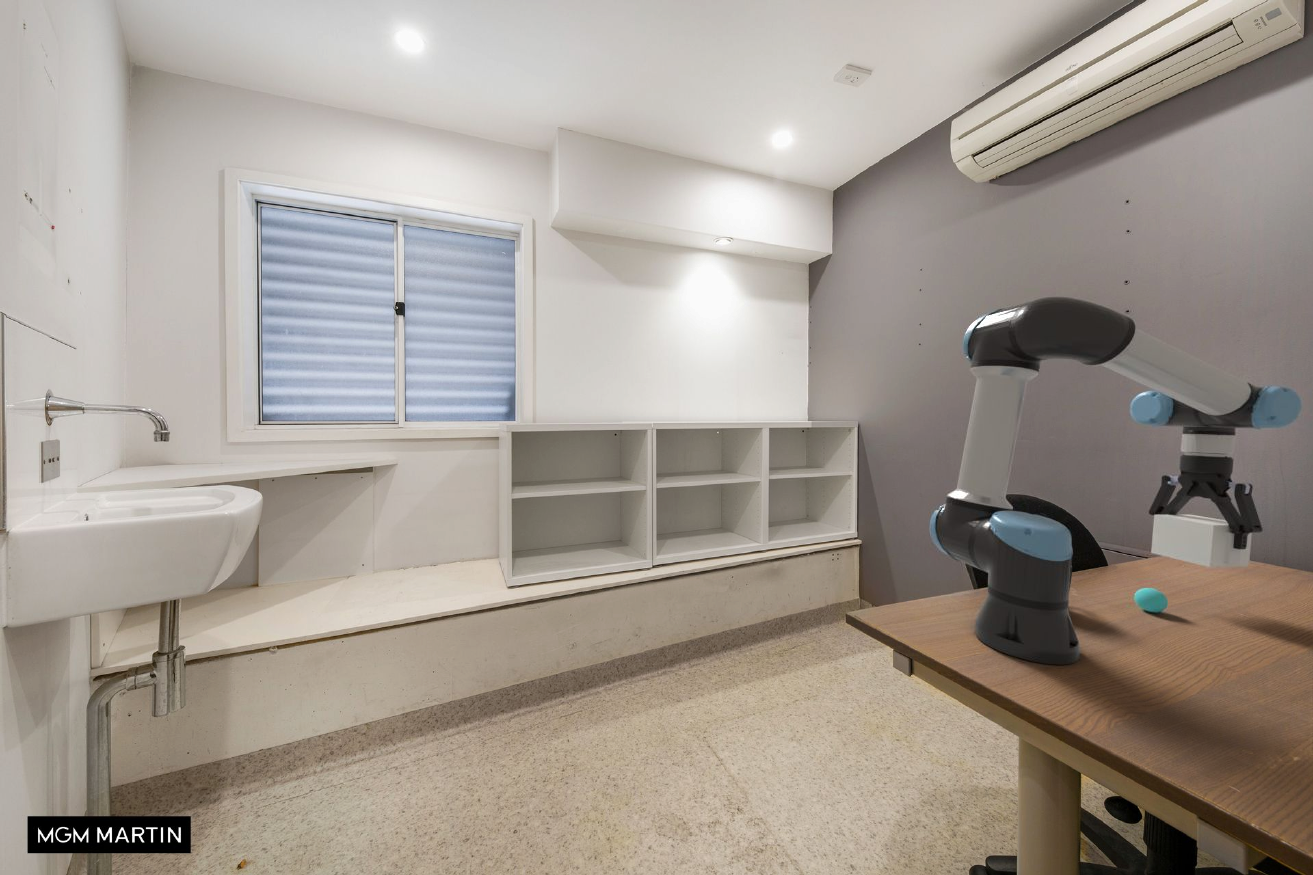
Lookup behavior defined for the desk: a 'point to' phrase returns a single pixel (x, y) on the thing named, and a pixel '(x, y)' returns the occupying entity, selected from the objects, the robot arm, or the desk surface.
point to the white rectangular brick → (1194, 540)
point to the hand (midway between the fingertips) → (1197, 555)
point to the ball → (1151, 600)
